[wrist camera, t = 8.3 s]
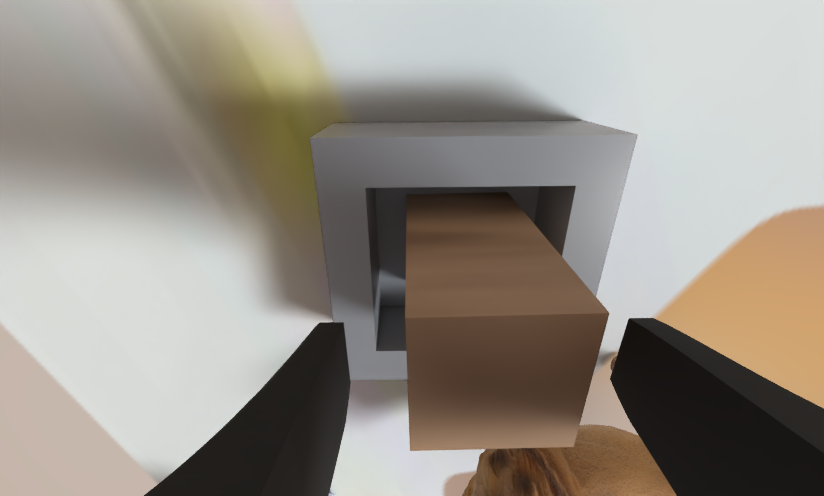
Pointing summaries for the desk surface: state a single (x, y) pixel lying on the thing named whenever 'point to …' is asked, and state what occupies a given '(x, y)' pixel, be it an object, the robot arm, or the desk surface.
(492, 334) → the walnut block
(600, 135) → the square well
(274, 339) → the desk surface
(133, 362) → the desk surface
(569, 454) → the lion figurine
